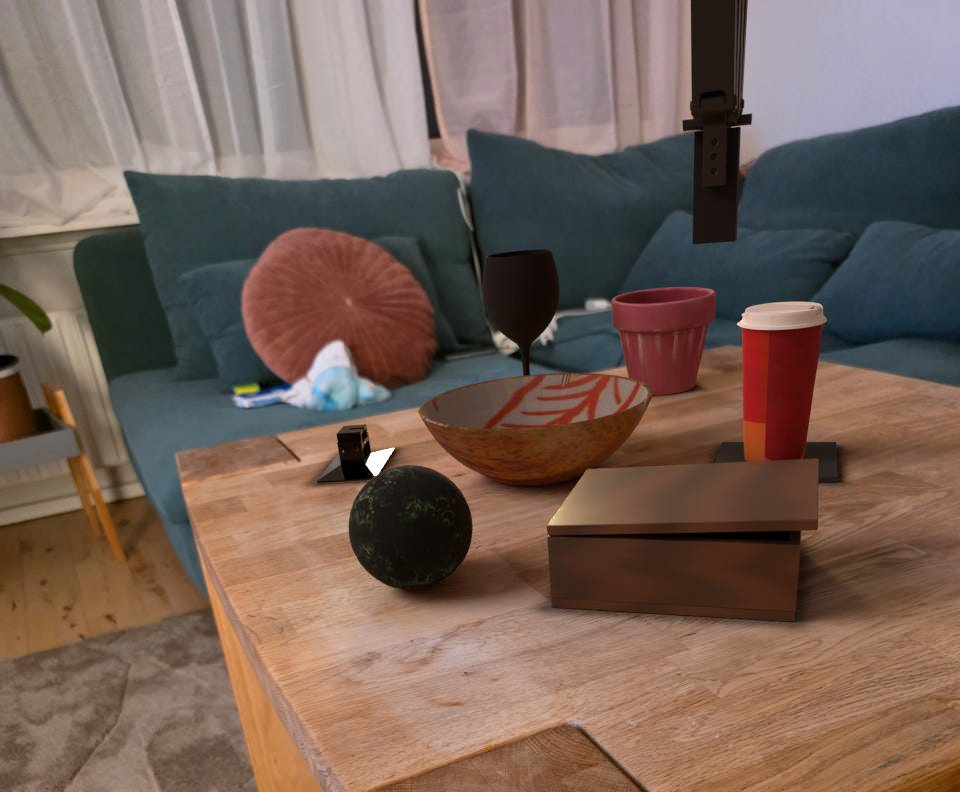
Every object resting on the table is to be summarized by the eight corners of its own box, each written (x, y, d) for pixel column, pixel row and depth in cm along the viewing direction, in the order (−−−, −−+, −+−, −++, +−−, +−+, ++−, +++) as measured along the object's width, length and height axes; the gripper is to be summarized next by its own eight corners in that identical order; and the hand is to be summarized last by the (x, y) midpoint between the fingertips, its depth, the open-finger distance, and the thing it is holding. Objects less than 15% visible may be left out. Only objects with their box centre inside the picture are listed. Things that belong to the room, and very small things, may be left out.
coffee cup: (825, 449, 94) (838, 299, 87) (801, 472, 88) (813, 313, 82) (747, 443, 99) (754, 300, 92) (720, 465, 93) (725, 314, 86)
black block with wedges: (376, 481, 102) (369, 441, 100) (314, 485, 103) (306, 446, 100) (395, 449, 113) (389, 413, 110) (339, 453, 114) (332, 417, 111)
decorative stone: (355, 617, 70) (334, 495, 65) (361, 567, 79) (343, 457, 74) (482, 602, 70) (469, 480, 65) (474, 555, 79) (462, 444, 74)
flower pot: (670, 403, 120) (671, 303, 114) (593, 393, 130) (590, 300, 124) (733, 382, 128) (737, 287, 122) (656, 373, 138) (656, 285, 132)
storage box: (798, 548, 74) (804, 480, 71) (794, 622, 62) (800, 545, 60) (589, 541, 79) (587, 478, 77) (551, 607, 68) (547, 536, 65)
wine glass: (477, 407, 129) (464, 258, 120) (529, 391, 135) (519, 248, 125) (527, 415, 122) (517, 257, 112) (579, 399, 127) (573, 247, 118)
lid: (818, 467, 70) (818, 458, 70) (817, 530, 59) (818, 519, 59) (587, 477, 77) (586, 468, 76) (547, 536, 65) (546, 525, 65)
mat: (835, 447, 97) (836, 441, 96) (837, 482, 87) (837, 476, 87) (722, 447, 101) (722, 441, 100) (711, 480, 91) (711, 475, 90)
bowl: (630, 512, 85) (629, 429, 81) (391, 506, 93) (379, 430, 89) (669, 438, 106) (669, 369, 102) (470, 439, 114) (464, 375, 110)
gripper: (673, -182, 55) (671, 237, 66) (637, -261, 44) (641, 256, 55) (803, -212, 52) (778, 229, 63) (798, -302, 41) (769, 247, 52)
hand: (714, 241), depth 59 cm, fingers closed
